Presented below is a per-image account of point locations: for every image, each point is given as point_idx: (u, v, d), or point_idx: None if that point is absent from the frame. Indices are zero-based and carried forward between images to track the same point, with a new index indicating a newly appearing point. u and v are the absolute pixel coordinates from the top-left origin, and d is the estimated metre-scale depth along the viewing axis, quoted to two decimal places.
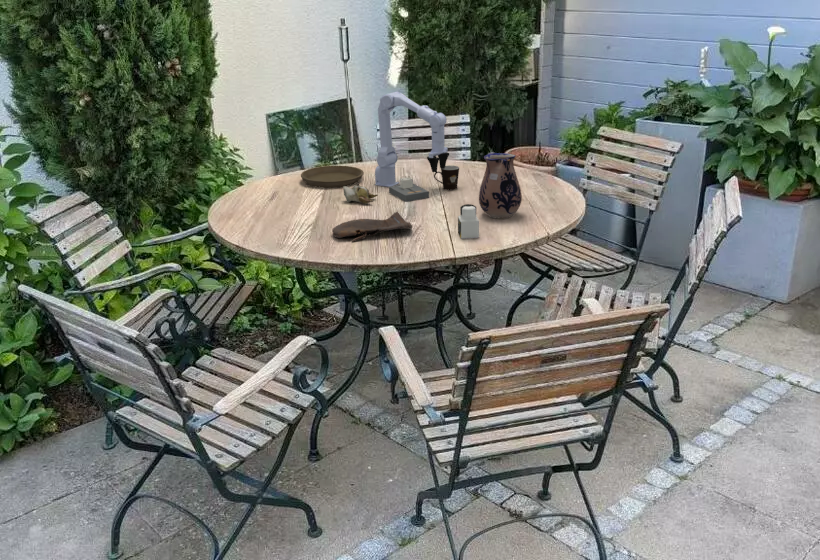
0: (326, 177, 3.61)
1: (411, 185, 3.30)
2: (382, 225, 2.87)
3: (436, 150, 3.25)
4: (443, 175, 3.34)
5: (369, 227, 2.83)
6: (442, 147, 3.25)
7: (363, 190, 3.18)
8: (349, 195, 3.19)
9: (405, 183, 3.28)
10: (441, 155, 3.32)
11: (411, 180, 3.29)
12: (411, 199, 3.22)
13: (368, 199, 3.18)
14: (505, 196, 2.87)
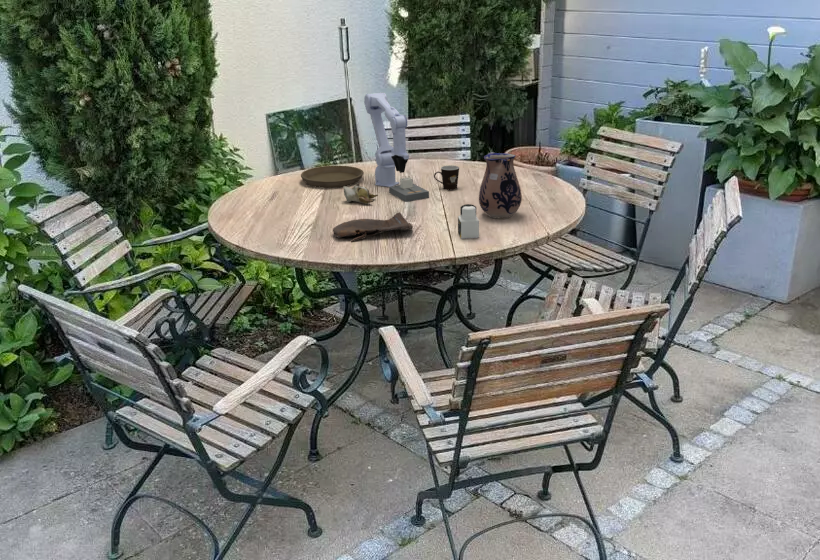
0: (326, 177, 3.61)
1: (411, 185, 3.30)
2: (383, 225, 2.87)
3: None
4: (443, 175, 3.34)
5: (370, 227, 2.83)
6: (393, 148, 3.29)
7: (363, 190, 3.18)
8: (350, 195, 3.19)
9: (405, 183, 3.28)
10: None
11: (411, 180, 3.29)
12: (411, 199, 3.22)
13: (368, 199, 3.18)
14: (505, 196, 2.87)
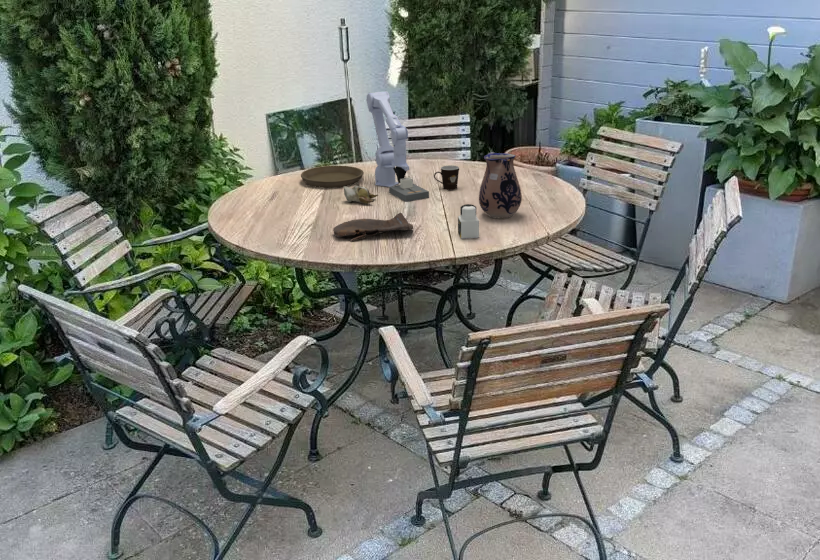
0: (326, 177, 3.61)
1: (411, 185, 3.30)
2: (384, 225, 2.87)
3: None
4: (443, 175, 3.34)
5: (370, 227, 2.82)
6: (394, 159, 3.30)
7: (364, 190, 3.18)
8: (350, 195, 3.19)
9: (405, 183, 3.28)
10: None
11: (411, 180, 3.29)
12: (411, 199, 3.22)
13: (369, 199, 3.18)
14: (505, 196, 2.87)
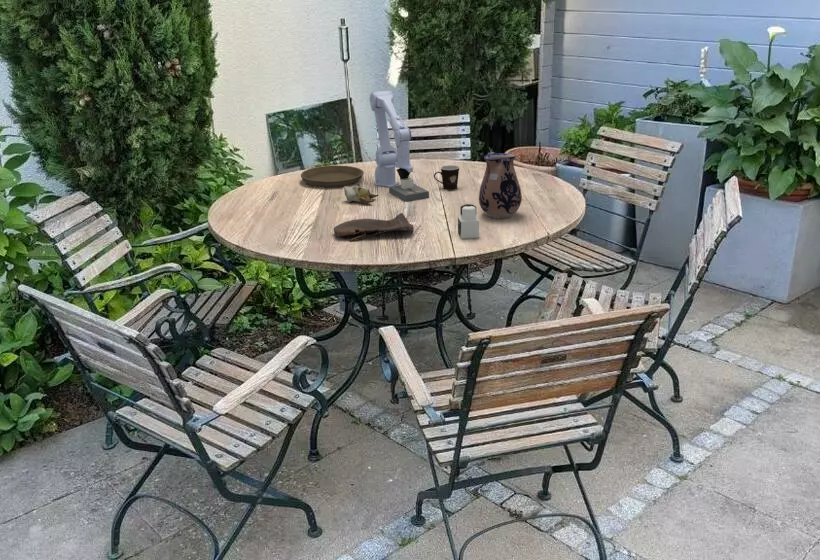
0: (326, 177, 3.61)
1: (412, 185, 3.29)
2: (385, 225, 2.87)
3: None
4: (443, 175, 3.34)
5: (370, 227, 2.82)
6: (397, 161, 3.28)
7: (364, 190, 3.18)
8: (350, 195, 3.19)
9: (406, 183, 3.28)
10: None
11: (412, 180, 3.28)
12: (411, 199, 3.22)
13: (369, 199, 3.18)
14: (505, 196, 2.87)
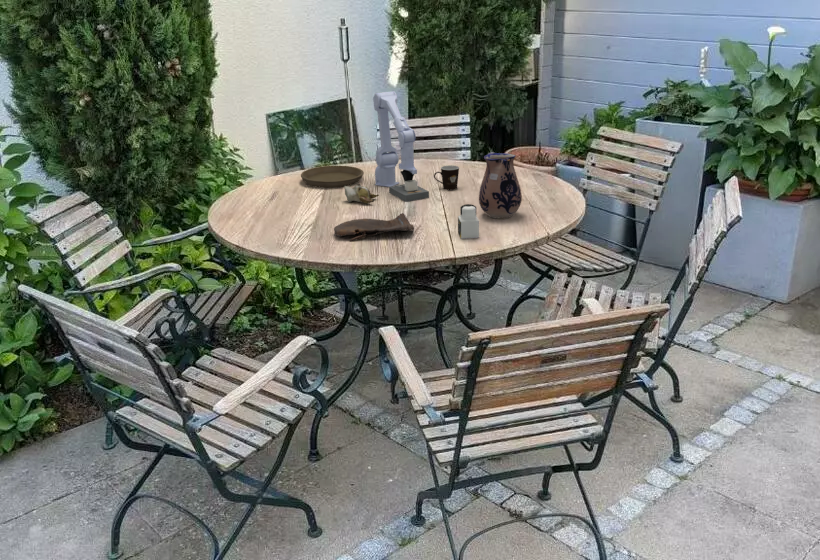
0: (326, 177, 3.61)
1: (416, 187, 3.26)
2: (385, 226, 2.86)
3: None
4: (443, 175, 3.34)
5: (371, 227, 2.82)
6: (401, 163, 3.24)
7: (364, 190, 3.18)
8: (350, 195, 3.19)
9: (410, 185, 3.24)
10: None
11: (416, 182, 3.25)
12: (411, 199, 3.22)
13: (369, 199, 3.18)
14: (505, 196, 2.87)
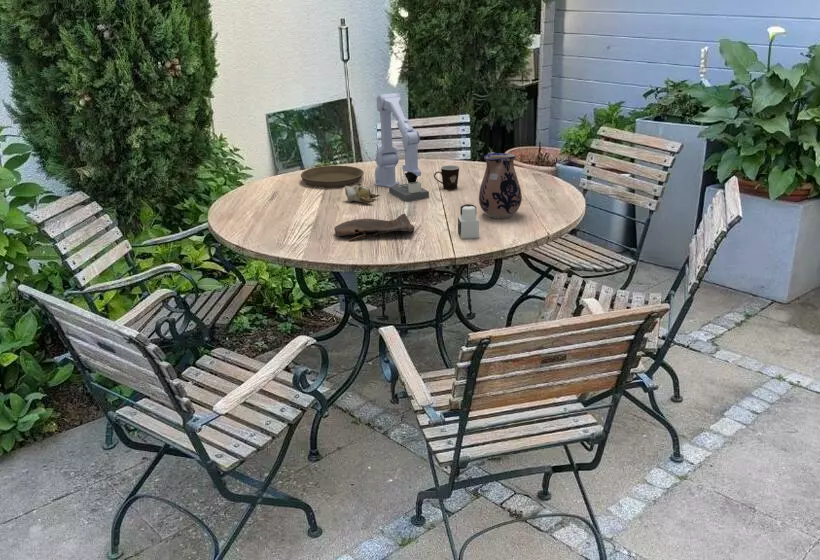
0: (326, 177, 3.61)
1: (419, 189, 3.23)
2: (386, 226, 2.86)
3: None
4: (443, 175, 3.34)
5: (371, 227, 2.82)
6: (405, 164, 3.21)
7: (364, 190, 3.18)
8: (351, 195, 3.19)
9: (414, 187, 3.21)
10: None
11: (419, 184, 3.22)
12: (411, 199, 3.22)
13: (369, 199, 3.18)
14: (505, 196, 2.87)
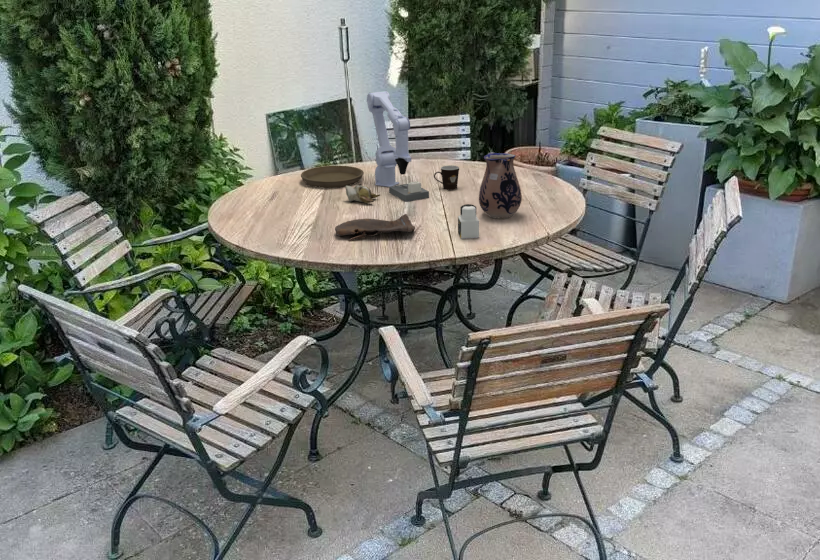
0: (326, 177, 3.61)
1: (419, 189, 3.23)
2: (387, 226, 2.86)
3: None
4: (443, 175, 3.34)
5: (372, 227, 2.82)
6: (396, 150, 3.27)
7: (365, 190, 3.18)
8: (351, 194, 3.20)
9: (414, 187, 3.21)
10: None
11: (419, 184, 3.22)
12: (411, 199, 3.22)
13: (369, 199, 3.18)
14: (505, 196, 2.87)
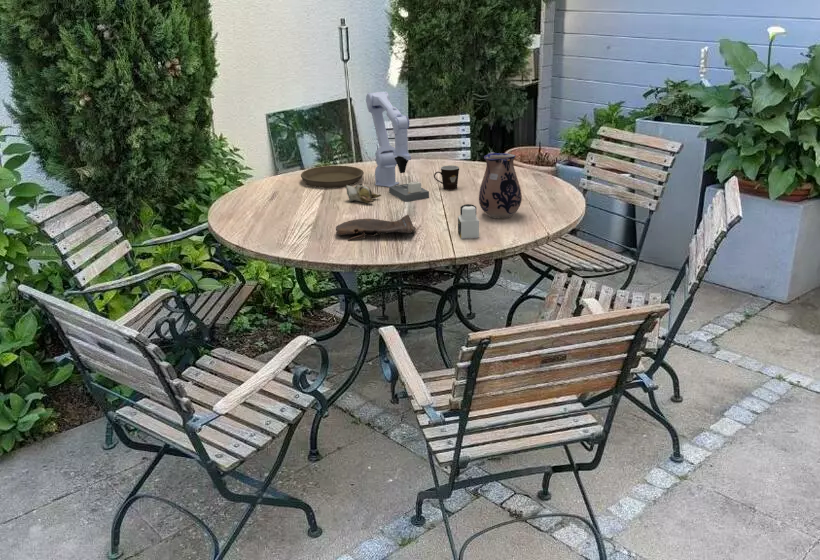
0: (326, 177, 3.61)
1: (419, 189, 3.23)
2: (388, 227, 2.85)
3: None
4: (443, 175, 3.34)
5: (372, 227, 2.82)
6: (395, 149, 3.27)
7: (365, 190, 3.19)
8: (352, 194, 3.20)
9: (414, 187, 3.21)
10: None
11: (419, 184, 3.22)
12: (411, 199, 3.22)
13: (370, 199, 3.19)
14: (505, 196, 2.87)
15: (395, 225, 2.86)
